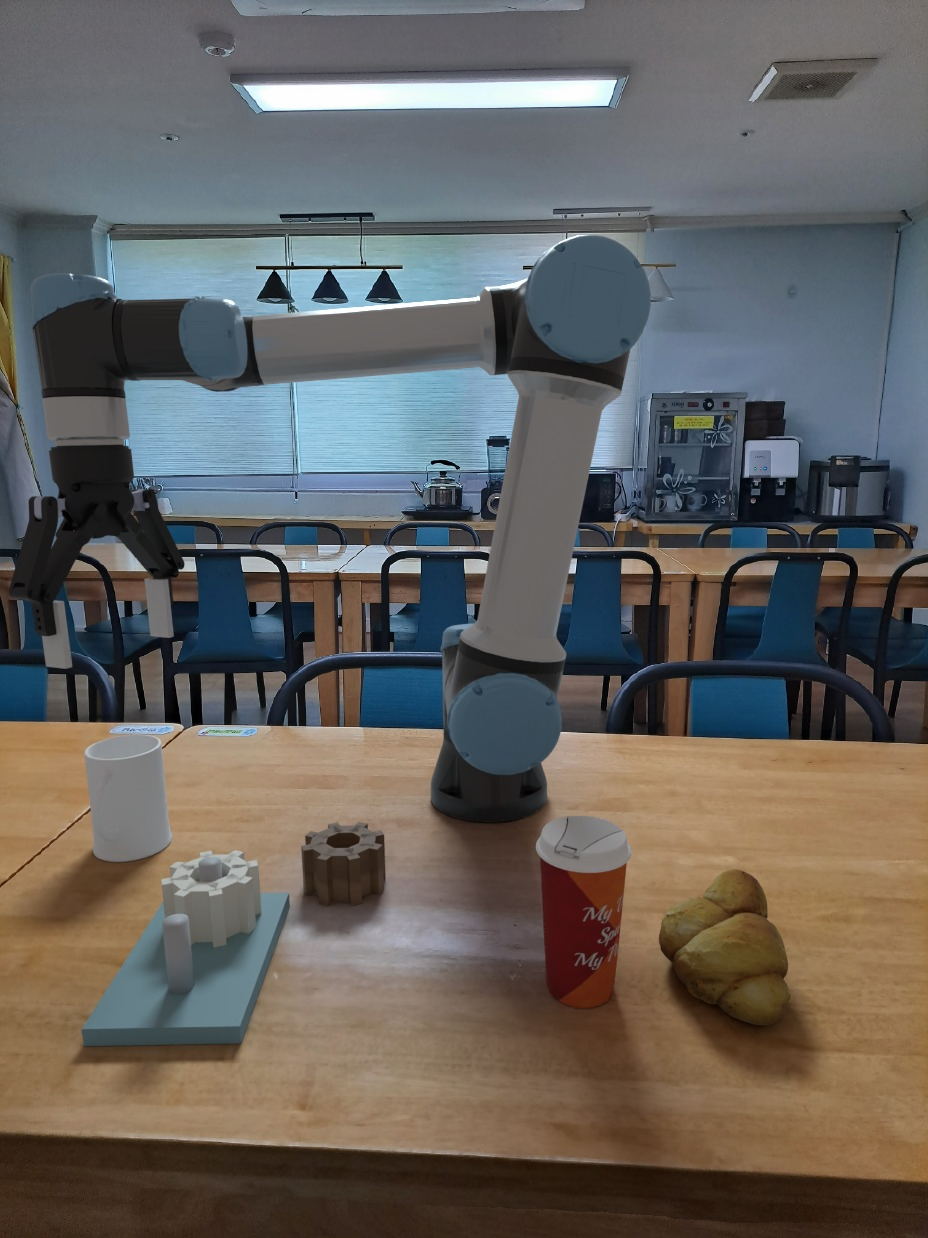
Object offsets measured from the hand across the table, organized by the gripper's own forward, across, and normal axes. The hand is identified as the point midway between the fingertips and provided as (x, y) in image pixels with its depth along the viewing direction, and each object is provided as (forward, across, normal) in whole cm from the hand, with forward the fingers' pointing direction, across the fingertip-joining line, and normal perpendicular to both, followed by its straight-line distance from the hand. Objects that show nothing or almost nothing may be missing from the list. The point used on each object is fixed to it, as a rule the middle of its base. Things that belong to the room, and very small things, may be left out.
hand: (114, 650), depth 85 cm
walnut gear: (+24, -5, +24) cm, 34 cm away
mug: (+24, -1, -3) cm, 24 cm away
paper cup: (+25, +2, +51) cm, 57 cm away
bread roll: (+25, -3, +62) cm, 67 cm away
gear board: (+24, +12, +20) cm, 33 cm away
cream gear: (+23, +8, +18) cm, 30 cm away
